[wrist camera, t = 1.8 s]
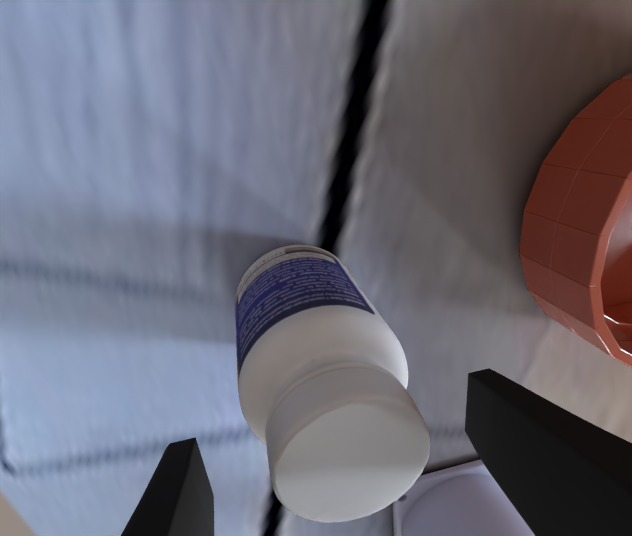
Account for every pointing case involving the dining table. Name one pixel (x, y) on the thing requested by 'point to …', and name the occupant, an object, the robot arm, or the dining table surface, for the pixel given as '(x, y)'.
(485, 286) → the dining table surface
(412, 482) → the pill bottle
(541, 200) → the bowl
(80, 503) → the dining table surface
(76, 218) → the dining table surface
